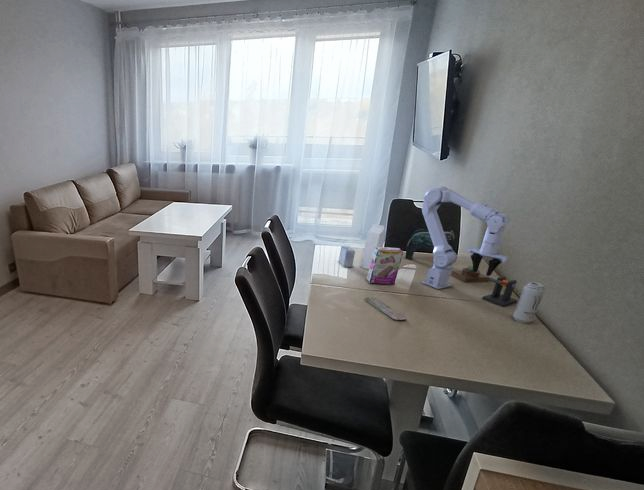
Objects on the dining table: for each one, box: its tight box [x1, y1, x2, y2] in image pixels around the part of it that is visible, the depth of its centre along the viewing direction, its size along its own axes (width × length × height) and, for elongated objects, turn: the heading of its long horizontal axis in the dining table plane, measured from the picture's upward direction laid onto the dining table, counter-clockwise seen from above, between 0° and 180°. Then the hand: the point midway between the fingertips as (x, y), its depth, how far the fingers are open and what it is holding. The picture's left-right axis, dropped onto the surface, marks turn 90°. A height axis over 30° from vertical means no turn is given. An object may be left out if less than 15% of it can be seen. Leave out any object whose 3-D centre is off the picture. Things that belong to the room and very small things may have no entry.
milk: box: [360, 223, 387, 271], centre depth 202 cm, size 6×6×22 cm
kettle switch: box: [487, 277, 509, 288], centre depth 169 cm, size 11×5×2 cm, turn 116°
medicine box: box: [338, 245, 356, 268], centre depth 208 cm, size 8×4×9 cm, turn 179°
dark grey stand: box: [482, 276, 518, 308], centre depth 172 cm, size 10×8×10 cm
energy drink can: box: [512, 281, 546, 324], centre depth 155 cm, size 6×6×15 cm
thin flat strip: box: [365, 296, 406, 321], centre depth 164 cm, size 5×20×1 cm, turn 11°
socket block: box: [450, 267, 490, 283], centre depth 196 cm, size 12×9×4 cm
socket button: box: [466, 265, 477, 272], centre depth 195 cm, size 4×4×2 cm
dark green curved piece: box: [404, 226, 456, 260], centre depth 213 cm, size 20×6×20 cm, turn 58°
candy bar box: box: [366, 246, 404, 286], centre depth 186 cm, size 11×5×16 cm, turn 84°
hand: (481, 273), depth 174 cm, fingers open, 5 cm apart
